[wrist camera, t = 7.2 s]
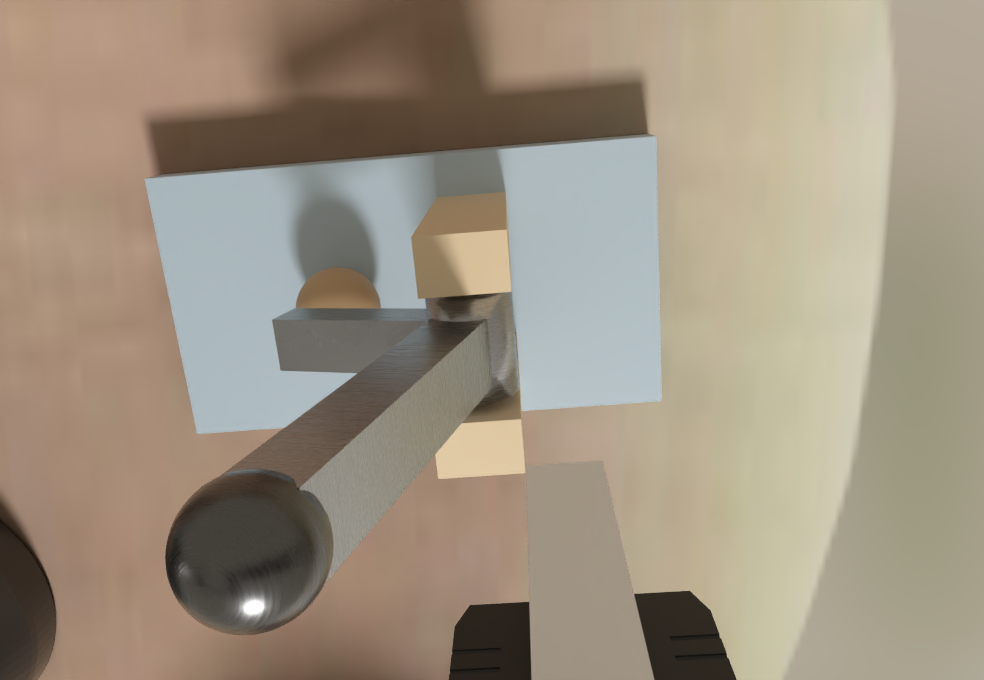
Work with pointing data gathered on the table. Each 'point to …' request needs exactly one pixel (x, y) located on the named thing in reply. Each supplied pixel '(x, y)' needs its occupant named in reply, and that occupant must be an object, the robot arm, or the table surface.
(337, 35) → the table surface
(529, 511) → the robot arm
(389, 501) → the lever
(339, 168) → the base
